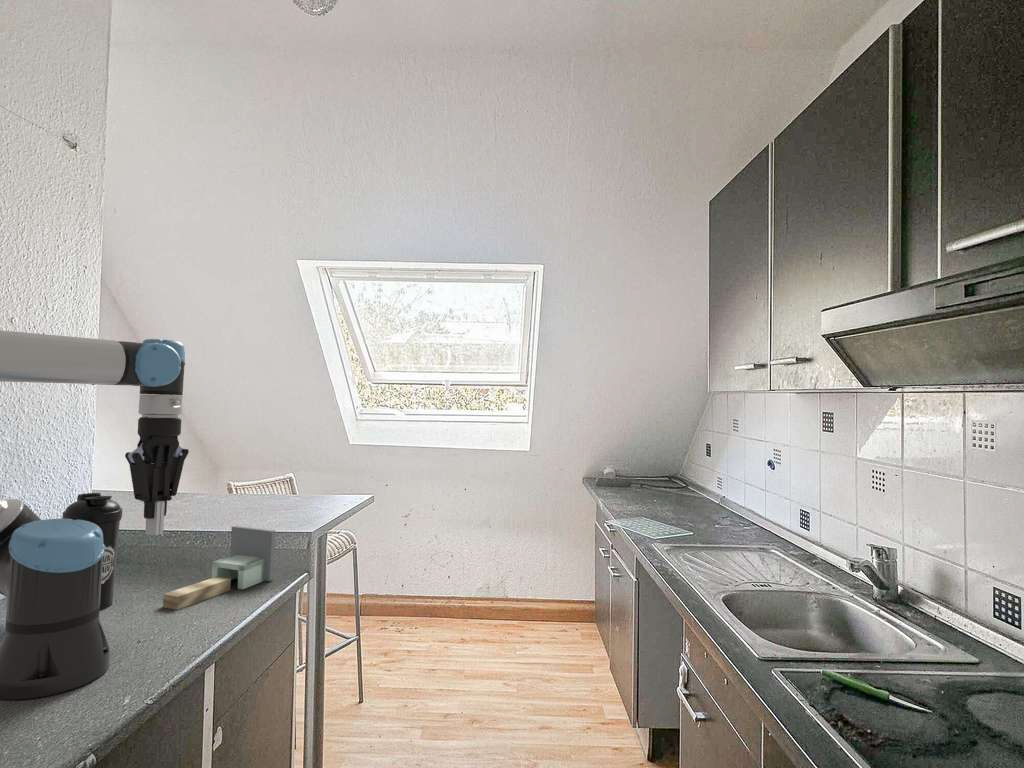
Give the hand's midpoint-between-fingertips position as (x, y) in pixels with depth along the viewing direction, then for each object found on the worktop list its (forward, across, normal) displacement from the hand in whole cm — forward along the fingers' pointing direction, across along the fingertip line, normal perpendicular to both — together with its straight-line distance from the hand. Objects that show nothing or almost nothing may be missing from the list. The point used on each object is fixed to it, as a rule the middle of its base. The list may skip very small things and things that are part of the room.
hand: (154, 533), depth 118 cm
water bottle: (+17, 0, +16) cm, 23 cm away
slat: (+17, +12, 0) cm, 21 cm away
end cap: (+16, +24, 0) cm, 29 cm away
